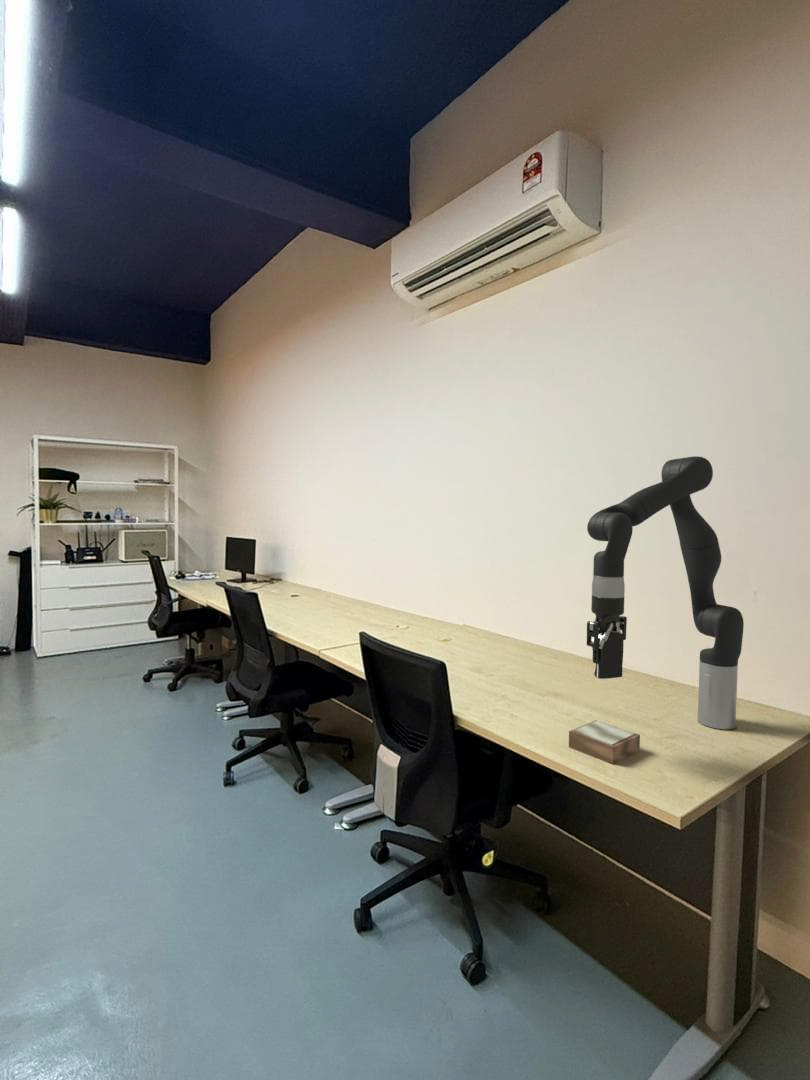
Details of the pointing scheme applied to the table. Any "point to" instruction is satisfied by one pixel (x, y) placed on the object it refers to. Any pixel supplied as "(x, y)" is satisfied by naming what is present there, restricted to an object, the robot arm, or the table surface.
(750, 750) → the table surface
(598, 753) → the base
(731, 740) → the table surface
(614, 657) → the battery
